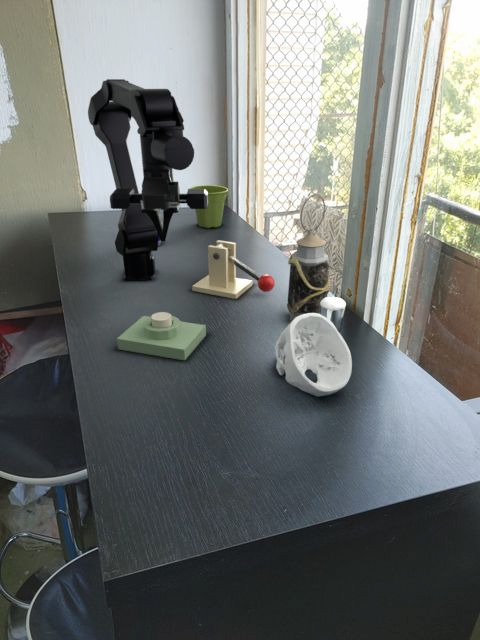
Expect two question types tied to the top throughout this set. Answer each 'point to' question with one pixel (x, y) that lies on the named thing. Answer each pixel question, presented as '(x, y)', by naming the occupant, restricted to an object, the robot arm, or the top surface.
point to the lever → (252, 273)
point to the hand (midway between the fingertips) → (163, 241)
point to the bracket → (222, 273)
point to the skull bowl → (314, 355)
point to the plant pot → (212, 206)
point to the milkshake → (333, 309)
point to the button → (161, 320)
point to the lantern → (308, 273)
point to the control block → (162, 338)
